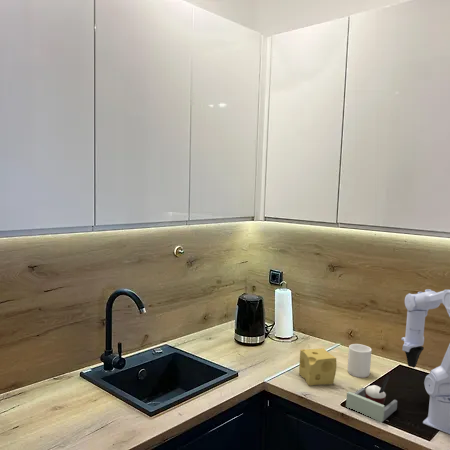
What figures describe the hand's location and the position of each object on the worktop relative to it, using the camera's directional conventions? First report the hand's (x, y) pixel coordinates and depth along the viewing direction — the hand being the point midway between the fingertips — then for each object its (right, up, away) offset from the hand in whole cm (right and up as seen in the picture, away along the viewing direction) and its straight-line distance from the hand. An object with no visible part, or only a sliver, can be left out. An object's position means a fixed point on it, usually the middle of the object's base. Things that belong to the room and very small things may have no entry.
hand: (411, 366), depth 149 cm
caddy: (-17, -11, -9) cm, 22 cm away
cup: (-13, -8, +19) cm, 25 cm away
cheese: (-31, -9, +11) cm, 34 cm away
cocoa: (-15, -11, -7) cm, 20 cm away
